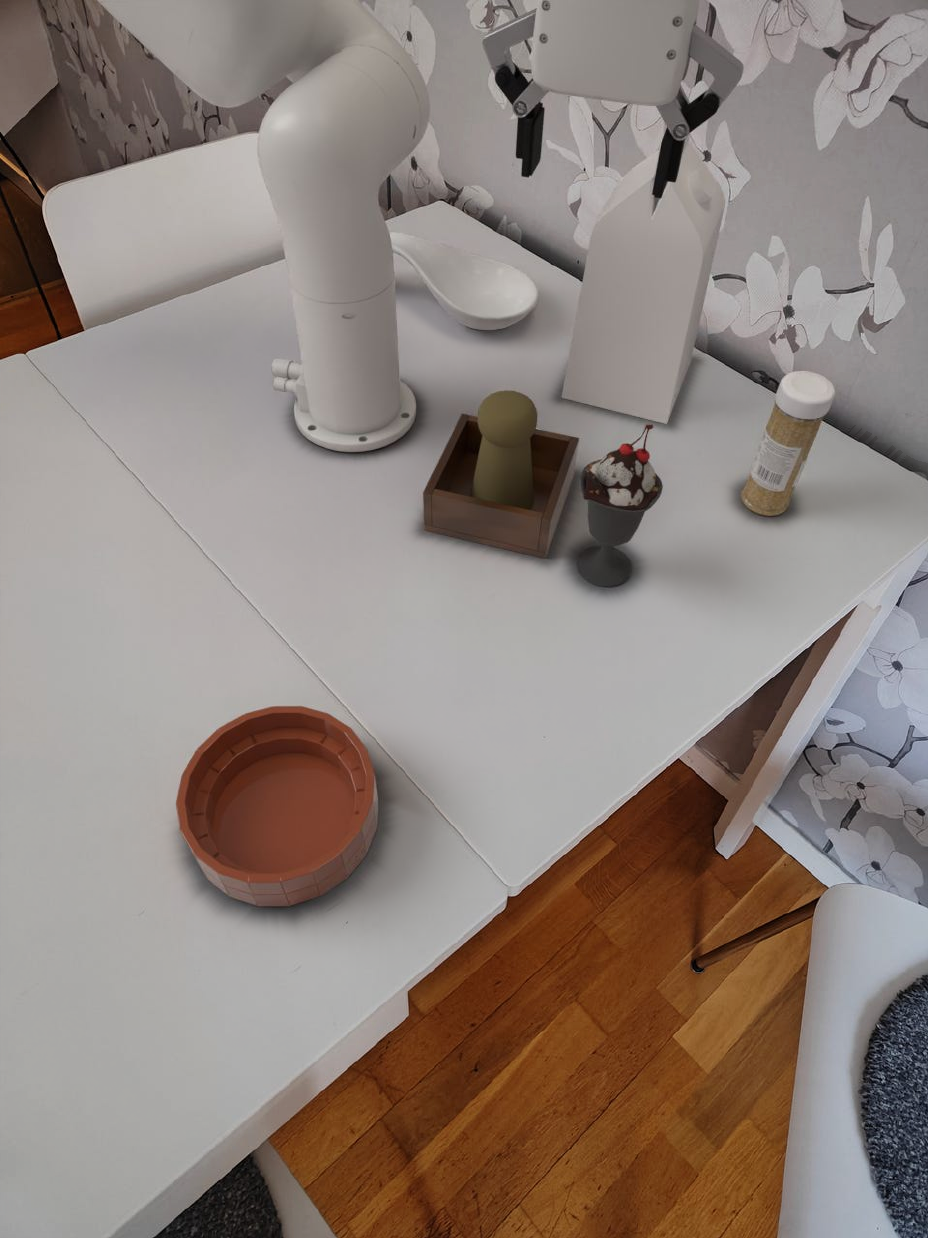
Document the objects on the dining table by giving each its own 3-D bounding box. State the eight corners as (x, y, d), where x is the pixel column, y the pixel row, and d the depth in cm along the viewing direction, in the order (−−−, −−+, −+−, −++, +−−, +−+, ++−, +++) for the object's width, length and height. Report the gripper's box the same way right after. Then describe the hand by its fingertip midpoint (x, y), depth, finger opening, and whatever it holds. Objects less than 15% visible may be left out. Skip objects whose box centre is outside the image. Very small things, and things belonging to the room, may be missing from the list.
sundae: (647, 549, 79) (682, 417, 68) (632, 602, 75) (665, 472, 64) (577, 531, 81) (599, 399, 69) (558, 582, 77) (578, 451, 65)
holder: (424, 530, 80) (422, 492, 77) (461, 451, 87) (461, 412, 84) (545, 559, 78) (550, 521, 75) (573, 475, 85) (579, 437, 82)
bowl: (157, 875, 60) (139, 848, 56) (243, 718, 68) (232, 686, 64) (336, 933, 57) (329, 908, 54) (403, 764, 65) (401, 733, 62)
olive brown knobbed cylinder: (467, 476, 84) (469, 381, 75) (529, 473, 84) (539, 378, 76) (473, 520, 80) (476, 426, 72) (538, 517, 81) (549, 422, 72)
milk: (592, 337, 100) (629, 89, 80) (691, 360, 98) (755, 110, 77) (561, 397, 93) (593, 142, 73) (666, 423, 91) (730, 167, 70)
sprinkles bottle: (797, 506, 83) (848, 389, 73) (763, 524, 82) (810, 408, 71) (763, 478, 86) (807, 362, 75) (729, 495, 84) (769, 379, 73)
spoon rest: (548, 301, 105) (554, 244, 99) (517, 355, 98) (522, 297, 92) (369, 262, 109) (365, 205, 104) (327, 311, 103) (320, 253, 97)
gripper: (790, -124, 51) (719, 174, 64) (506, -149, 54) (494, 140, 67) (780, -91, 47) (706, 222, 60) (471, -121, 50) (466, 184, 63)
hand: (594, 179), depth 64 cm, fingers open, 9 cm apart
